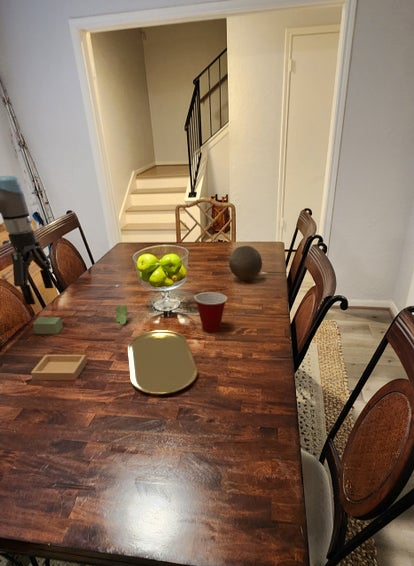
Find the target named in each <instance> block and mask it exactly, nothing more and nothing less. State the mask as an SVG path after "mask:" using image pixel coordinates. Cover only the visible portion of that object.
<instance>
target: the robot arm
mask: <svg viewBox="0 0 414 566" xmlns="http://www.w3.org/2000/svg"><path fill="white" fill-rule="evenodd" d="M0 215H1V218H2V221H3V224H4V227H5V231H6V233H8V234H7V236H8V239H9V242H10V245H11V247H14V248H15V249H16V252H12V253H11V254H10V257H11V260H12V271H13V285H14V287H19V288H20V291H21V293H22V296H23V298H24V301H25V304H26V306H29V305H33V306H35V305H36V300H35V298H34V294H33V291H32V288H31V284H28V283H29V272H30V271H29V269H30V266H31V264H32V263H34V264H35V265H37V267H39V269H40V272H39V273H40V275H41V279H42V282H43V285H44V289H54V285H53V284H54V283H53V281H52V277H51V273H50V271H49V270H51V269H52V266H51V265H52V263H51V261H50V260H49V258H48V256H47V255H46V253H45V251H44V250H43V248H42V245H41V243H40V241H38V240H37V236H36V232H35V230H33V229H34V226H33V223H32V222H33V221H32V220H31V216H30V212H29V209H28V205H27V202H26V199H25V194H24V191H23V188H22V185H21V183H20V179H19V178H18V177H16V176H15V175H1V176H0Z"/></svg>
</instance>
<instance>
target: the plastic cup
mask: <svg viewBox="0 0 414 566" xmlns="http://www.w3.org/2000/svg"><path fill="white" fill-rule="evenodd" d="M194 300H195V303H196V306H197V311H198V314H199V319H200V323H201V326H202V329H203V331H204V332H205V333H209V334H213V333H217V332H219V331H220V329H221V325H222V320H223V314H224V309H225V305H226V303H227V301H228V297H227V295H225V294H224V293H221V292H216V291H215V292H214V291H205V292H200V293H197V294H196V295H194Z"/></svg>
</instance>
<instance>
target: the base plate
mask: <svg viewBox="0 0 414 566" xmlns="http://www.w3.org/2000/svg"><path fill="white" fill-rule="evenodd" d="M87 364H88V357H87V354H45V355H44V356H43V357H42V358H41V360H40V361H39V362H38V363H37V364H36V366H35V367H34V368H33V369H32V370H31V372H30V374H31V377H32V380H33V381H77V380H78V378H79V377H80V375H81V373H82V371H83V370H84V368H85V367H86V365H87Z"/></svg>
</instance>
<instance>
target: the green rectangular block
mask: <svg viewBox="0 0 414 566" xmlns="http://www.w3.org/2000/svg"><path fill="white" fill-rule="evenodd" d="M32 327H33V330H34V333H35V335H58V334H59V333H60V332H61V330H62V329H63V328H64V324H63V321H62V318H61V316H60V317H55V316H53V317H52V316H51V317H50V316H49V317H44V316H43V317H37V319H36V320H35V321H34V322H33V323H32Z"/></svg>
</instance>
